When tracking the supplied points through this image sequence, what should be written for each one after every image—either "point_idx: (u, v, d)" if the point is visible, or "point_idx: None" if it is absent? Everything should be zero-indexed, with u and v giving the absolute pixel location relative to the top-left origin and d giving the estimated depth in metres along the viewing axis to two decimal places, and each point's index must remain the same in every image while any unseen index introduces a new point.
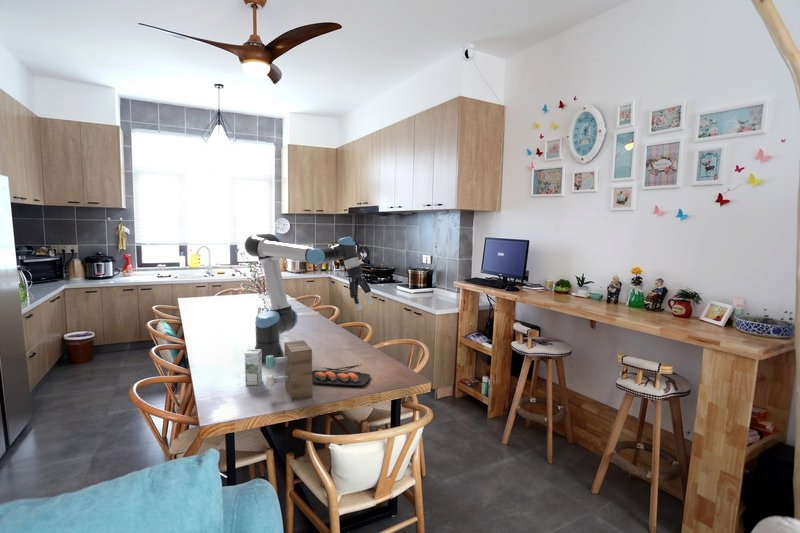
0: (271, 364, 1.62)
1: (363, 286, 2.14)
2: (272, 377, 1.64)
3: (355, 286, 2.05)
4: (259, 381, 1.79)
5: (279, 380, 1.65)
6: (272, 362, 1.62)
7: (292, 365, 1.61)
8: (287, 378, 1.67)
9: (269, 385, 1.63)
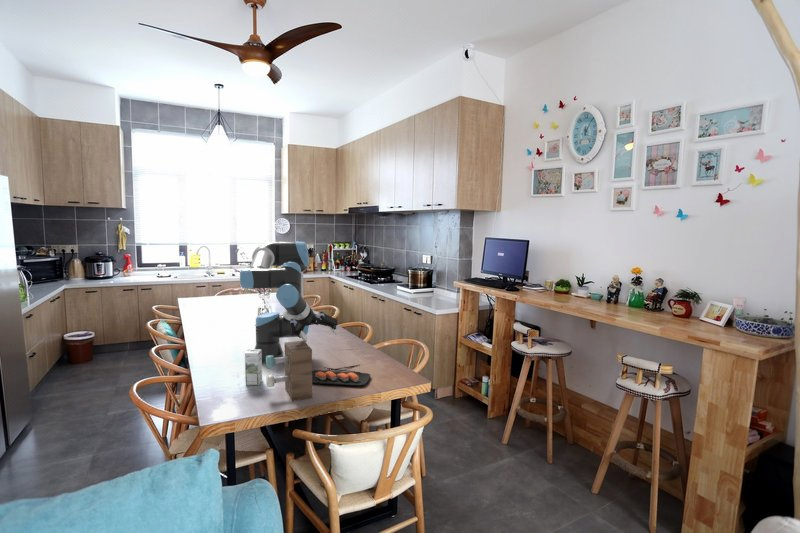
0: (271, 364, 1.62)
1: None
2: (272, 377, 1.64)
3: (299, 326, 1.69)
4: (259, 381, 1.79)
5: (279, 380, 1.65)
6: (272, 362, 1.62)
7: (292, 365, 1.61)
8: (287, 378, 1.67)
9: (269, 385, 1.63)
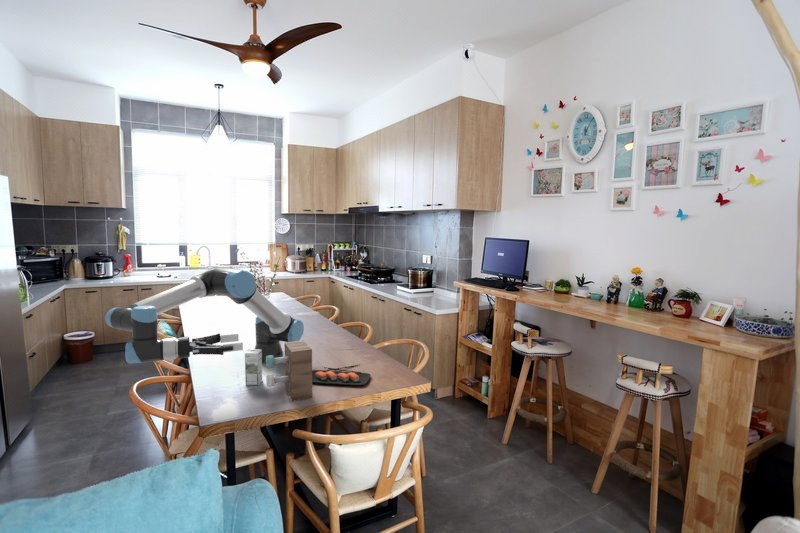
0: (271, 364, 1.62)
1: None
2: (272, 377, 1.64)
3: (206, 342, 1.57)
4: (259, 381, 1.79)
5: (279, 380, 1.65)
6: (272, 362, 1.62)
7: (292, 365, 1.61)
8: (287, 378, 1.67)
9: (269, 385, 1.63)
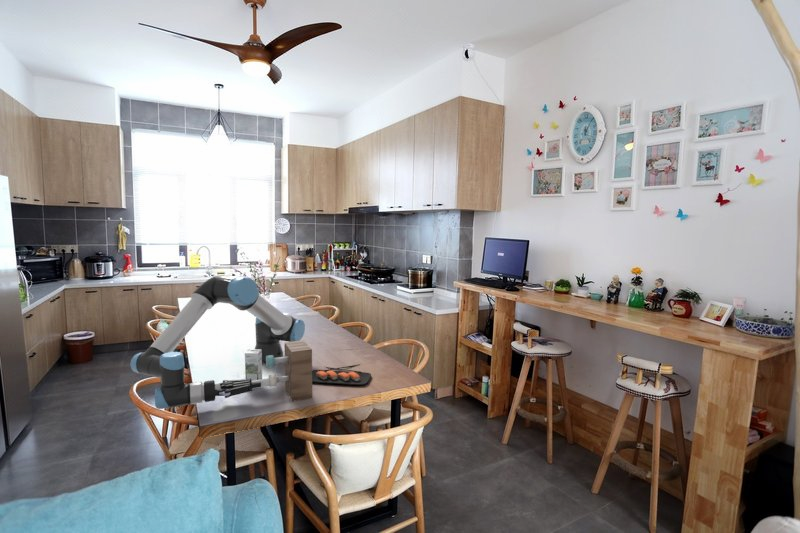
0: (271, 364, 1.62)
1: None
2: (274, 377, 1.64)
3: None
4: None
5: (281, 380, 1.66)
6: (272, 362, 1.62)
7: (292, 365, 1.61)
8: None
9: (271, 385, 1.63)
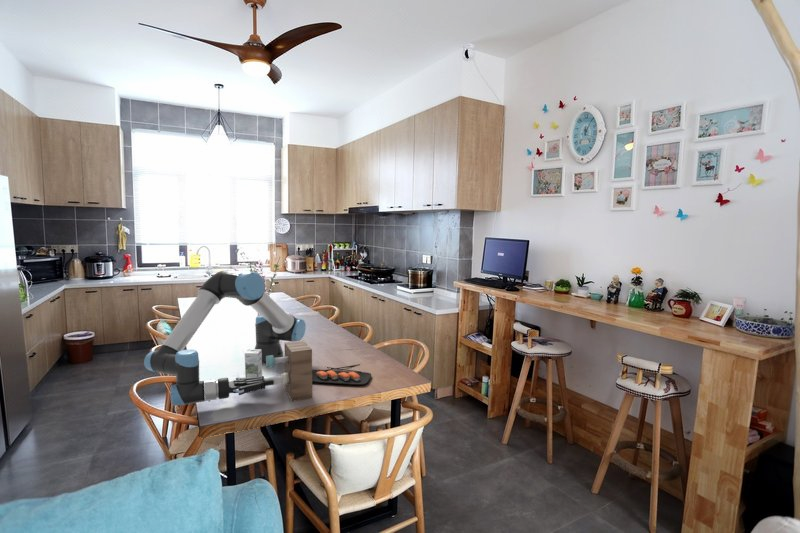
0: (271, 364, 1.62)
1: None
2: (287, 375, 1.66)
3: None
4: None
5: None
6: (272, 362, 1.62)
7: (292, 365, 1.61)
8: None
9: (284, 383, 1.65)
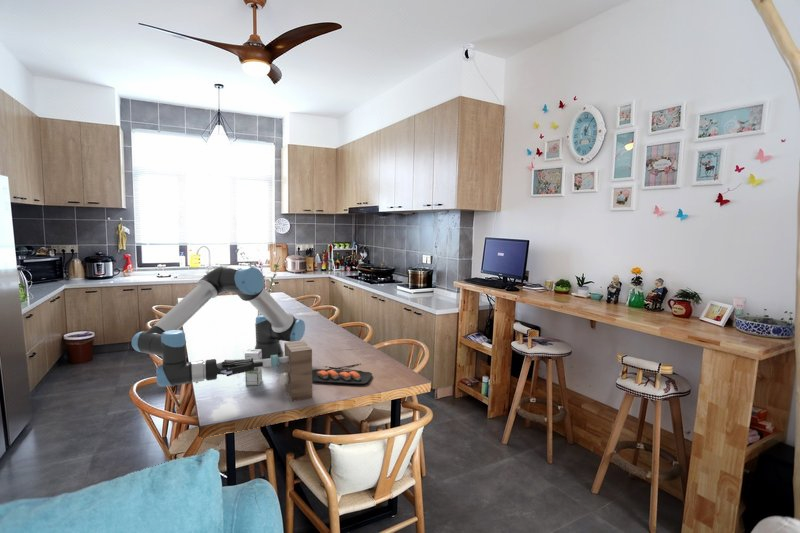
0: (275, 363, 1.63)
1: None
2: (286, 375, 1.66)
3: None
4: (259, 381, 1.79)
5: None
6: (277, 361, 1.63)
7: (292, 365, 1.61)
8: None
9: (283, 383, 1.65)
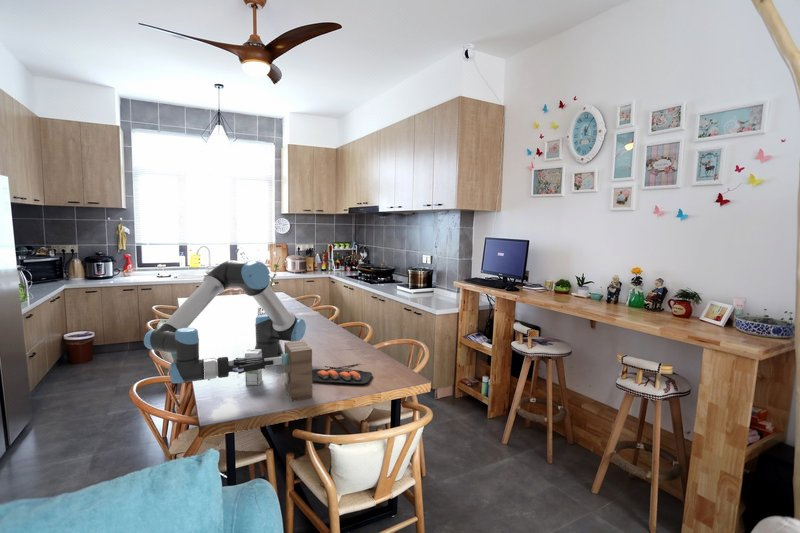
0: (286, 362, 1.65)
1: None
2: (286, 375, 1.66)
3: None
4: (259, 381, 1.79)
5: None
6: (287, 360, 1.65)
7: (292, 365, 1.61)
8: None
9: (283, 383, 1.65)
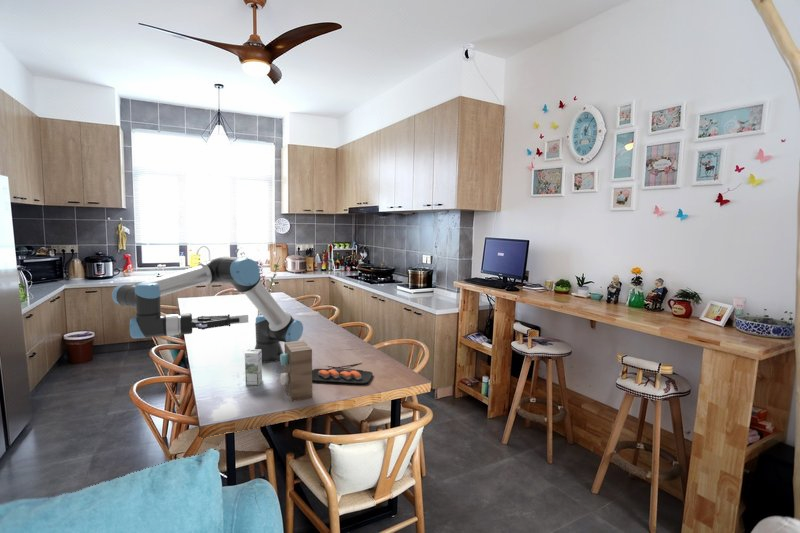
0: (285, 362, 1.65)
1: None
2: (286, 375, 1.66)
3: None
4: (259, 381, 1.79)
5: None
6: (286, 360, 1.65)
7: (292, 365, 1.61)
8: None
9: (283, 383, 1.65)
